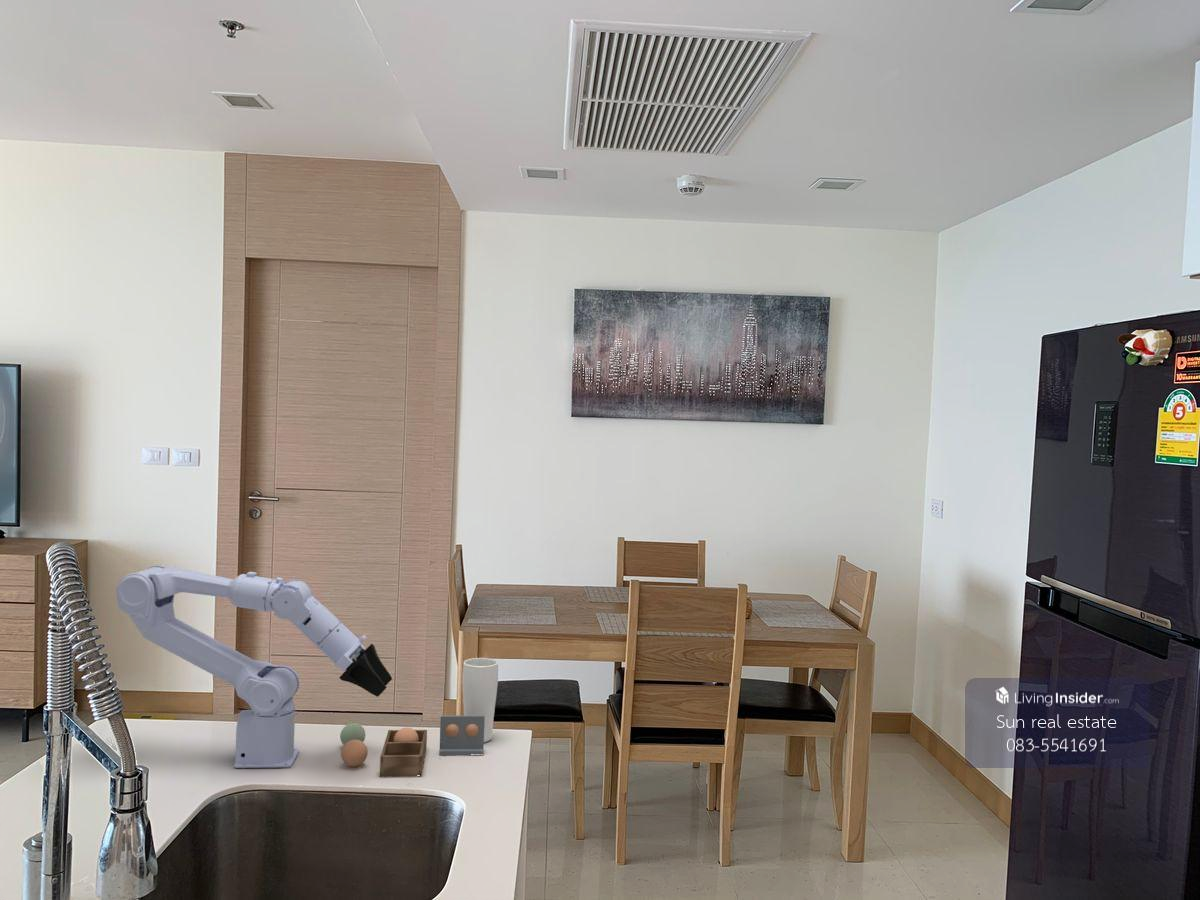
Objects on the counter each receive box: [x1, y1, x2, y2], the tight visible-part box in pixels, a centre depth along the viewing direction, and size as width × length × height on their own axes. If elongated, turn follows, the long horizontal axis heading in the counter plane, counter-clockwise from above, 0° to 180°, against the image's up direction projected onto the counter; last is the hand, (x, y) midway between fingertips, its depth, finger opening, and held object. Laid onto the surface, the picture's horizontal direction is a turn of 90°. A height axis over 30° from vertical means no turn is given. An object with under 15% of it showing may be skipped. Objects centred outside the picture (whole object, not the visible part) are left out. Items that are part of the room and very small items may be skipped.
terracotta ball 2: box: [393, 727, 419, 742], centre depth 166 cm, size 4×4×4 cm
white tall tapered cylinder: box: [461, 657, 499, 743], centre depth 176 cm, size 7×7×15 cm
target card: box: [438, 714, 485, 756], centre depth 168 cm, size 8×3×7 cm, turn 97°
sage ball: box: [339, 722, 366, 746], centre depth 169 cm, size 4×4×4 cm
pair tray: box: [379, 729, 428, 777], centre depth 163 cm, size 7×14×4 cm, turn 7°
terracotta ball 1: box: [340, 740, 369, 768], centre depth 160 cm, size 4×4×4 cm
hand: (385, 687), depth 162 cm, fingers open, 7 cm apart
